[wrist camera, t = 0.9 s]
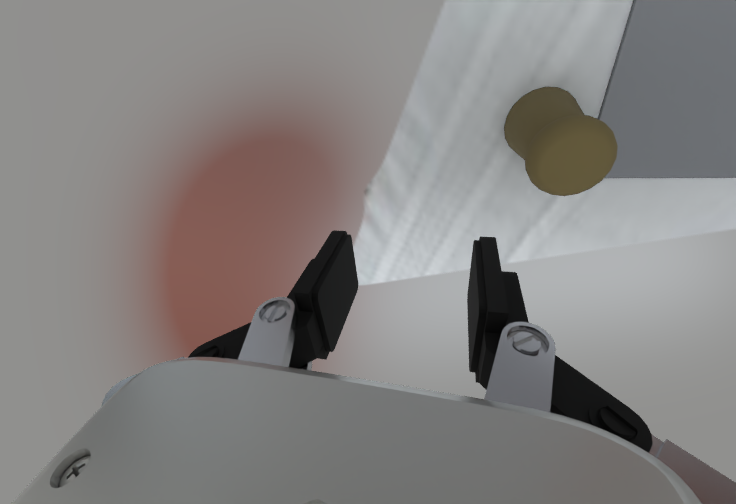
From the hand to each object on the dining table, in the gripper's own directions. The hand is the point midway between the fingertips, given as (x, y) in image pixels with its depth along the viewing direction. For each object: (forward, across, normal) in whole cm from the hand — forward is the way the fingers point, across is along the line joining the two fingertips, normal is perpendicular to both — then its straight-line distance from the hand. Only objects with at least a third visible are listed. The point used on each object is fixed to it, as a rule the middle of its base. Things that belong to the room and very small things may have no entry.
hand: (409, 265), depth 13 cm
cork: (+23, -9, 0) cm, 24 cm away
